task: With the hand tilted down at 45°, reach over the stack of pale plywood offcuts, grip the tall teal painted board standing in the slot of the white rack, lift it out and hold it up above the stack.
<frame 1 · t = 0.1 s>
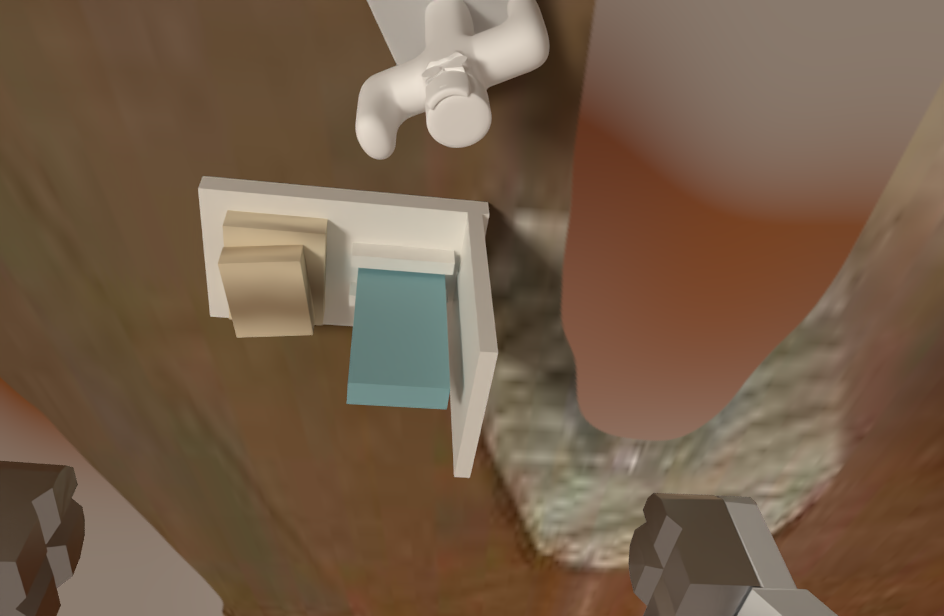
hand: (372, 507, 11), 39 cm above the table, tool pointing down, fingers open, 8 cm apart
rack: (345, 254, 56), on the table
offcut top: (271, 283, 54), point 3 cm above the table, touching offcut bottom
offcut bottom: (278, 262, 55), point 1 cm above the table, touching offcut top, rack
tall board: (401, 271, 56), point 1 cm above the table, touching rack
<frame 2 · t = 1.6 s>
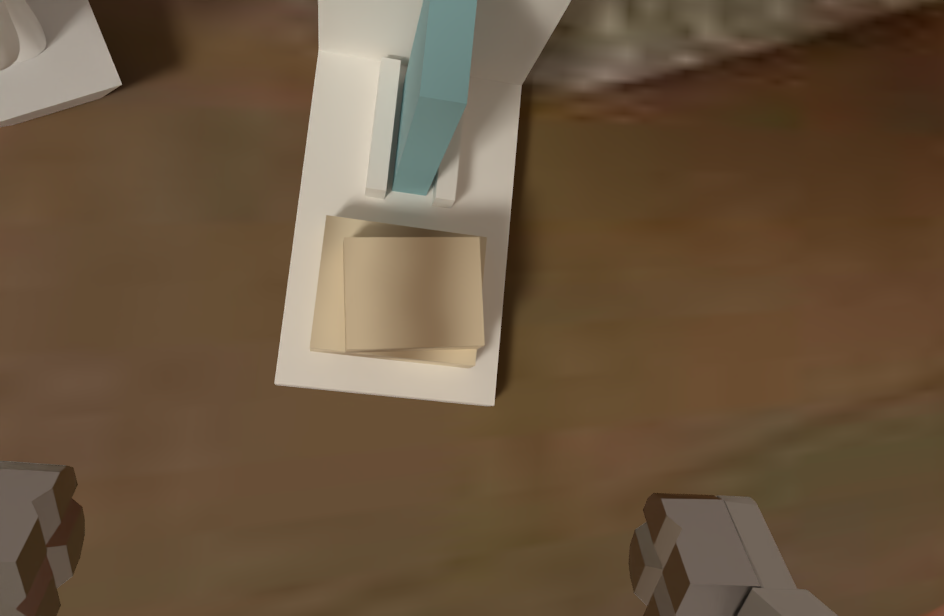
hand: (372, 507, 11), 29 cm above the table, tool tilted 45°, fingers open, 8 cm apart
rack: (403, 219, 42), on the table
offcut top: (410, 297, 38), point 3 cm above the table, touching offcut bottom
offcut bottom: (397, 296, 40), point 1 cm above the table, touching offcut top, rack
figurine: (44, 74, 40), on the table
tall board: (414, 138, 41), point 1 cm above the table, touching rack
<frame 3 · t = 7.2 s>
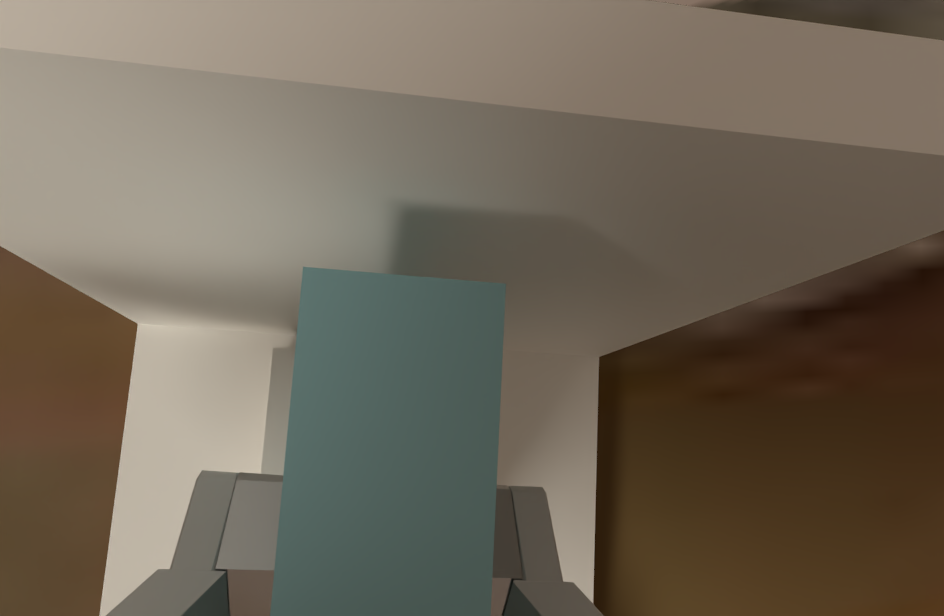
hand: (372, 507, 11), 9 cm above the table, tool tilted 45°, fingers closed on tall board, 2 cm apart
tall board: (364, 512, 18), point 1 cm above the table, touching gripper, rack
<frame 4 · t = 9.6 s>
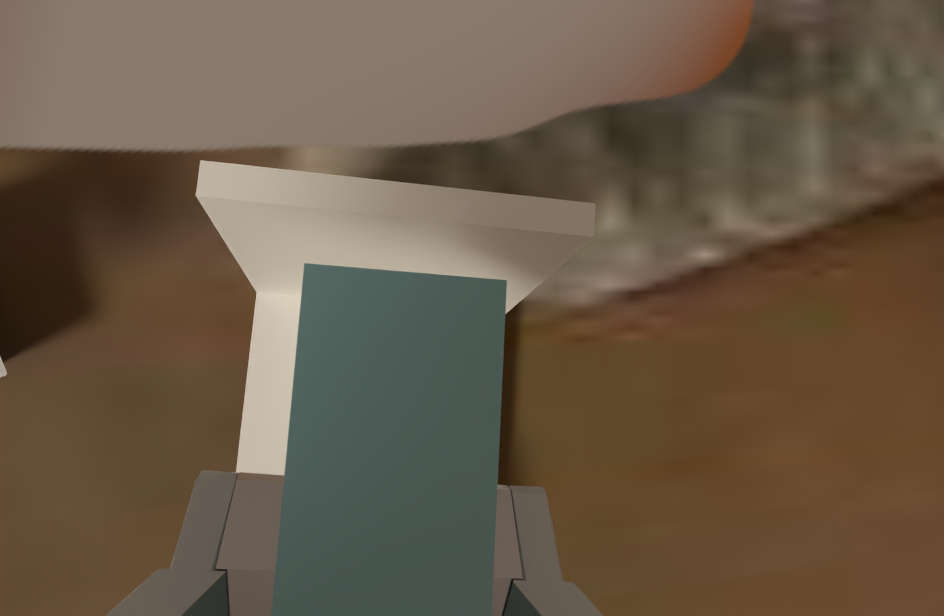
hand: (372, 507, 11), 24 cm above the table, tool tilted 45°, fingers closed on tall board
rack: (367, 486, 35), on the table
tall board: (364, 511, 18), point 17 cm above the table, touching gripper
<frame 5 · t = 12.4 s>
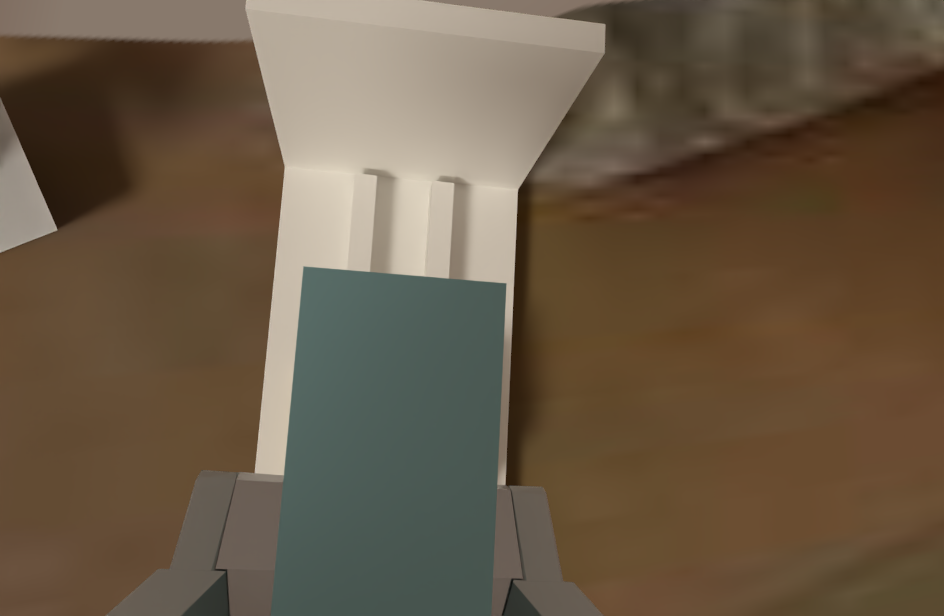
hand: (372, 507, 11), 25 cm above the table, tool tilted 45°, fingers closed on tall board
rack: (390, 350, 37), on the table
tall board: (364, 512, 18), point 18 cm above the table, touching gripper
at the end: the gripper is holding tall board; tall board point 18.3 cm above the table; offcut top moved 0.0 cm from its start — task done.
